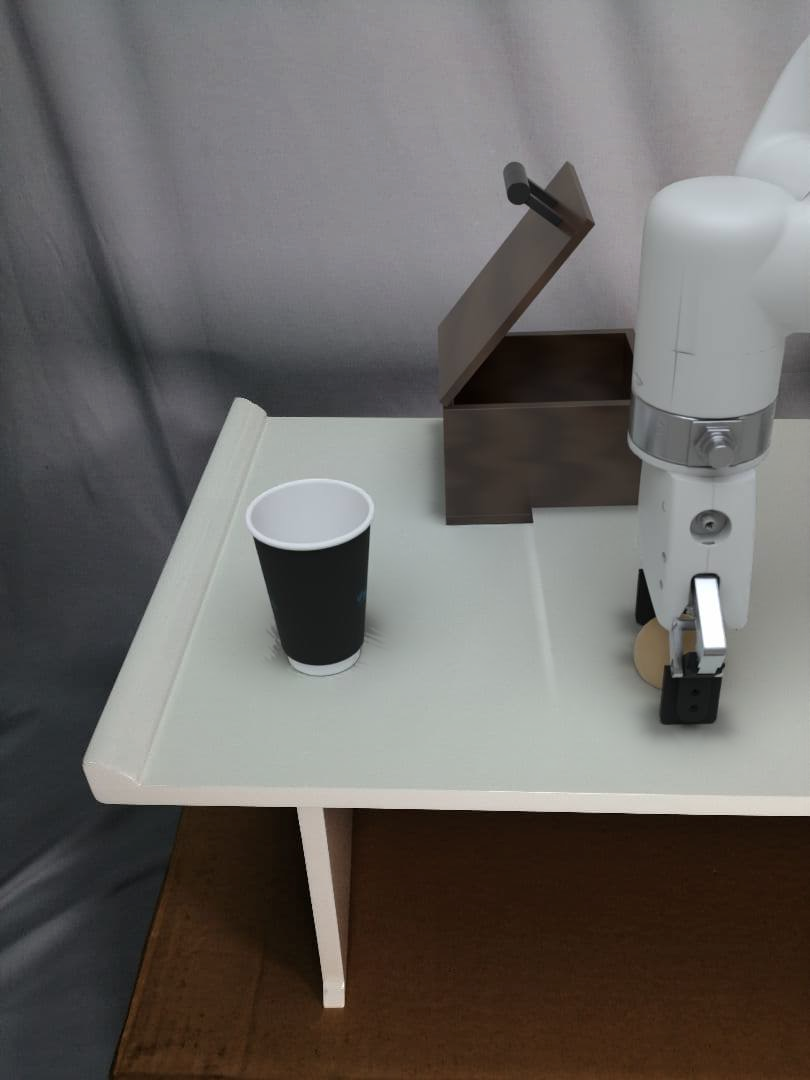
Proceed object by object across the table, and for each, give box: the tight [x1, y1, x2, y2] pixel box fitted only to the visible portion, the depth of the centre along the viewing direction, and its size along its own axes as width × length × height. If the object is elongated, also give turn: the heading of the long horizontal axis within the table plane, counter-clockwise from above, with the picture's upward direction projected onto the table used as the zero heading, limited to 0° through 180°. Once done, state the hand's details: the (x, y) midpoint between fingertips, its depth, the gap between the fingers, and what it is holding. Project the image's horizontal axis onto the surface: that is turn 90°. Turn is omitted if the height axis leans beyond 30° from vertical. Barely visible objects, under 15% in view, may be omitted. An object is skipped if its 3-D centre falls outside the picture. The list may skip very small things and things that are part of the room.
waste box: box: [442, 327, 643, 526], centre depth 92 cm, size 16×14×10 cm
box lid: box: [437, 160, 596, 407], centre depth 85 cm, size 16×14×5 cm
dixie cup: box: [244, 477, 376, 677], centre depth 74 cm, size 8×8×11 cm
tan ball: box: [633, 613, 697, 690], centre depth 72 cm, size 5×5×5 cm
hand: (672, 667), depth 72 cm, fingers open, 9 cm apart
